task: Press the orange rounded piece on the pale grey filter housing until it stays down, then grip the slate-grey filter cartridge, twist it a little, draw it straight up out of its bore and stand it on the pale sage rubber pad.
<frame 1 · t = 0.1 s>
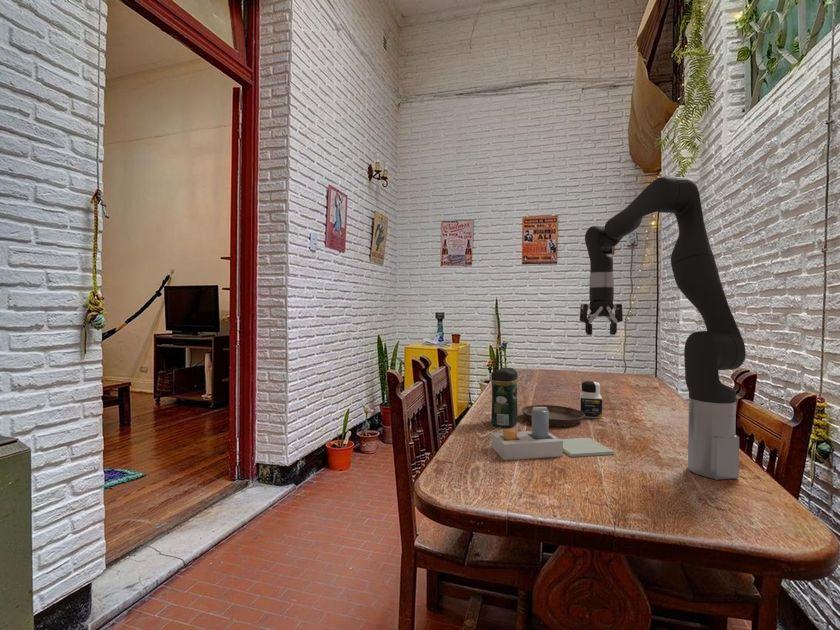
hand: (601, 334, 147), 29 cm above the table, tool pointing down, fingers open, 8 cm apart
filter housing: (525, 451, 118), on the table
cartridge: (539, 450, 118), resting in filter housing
orange rounded piece: (510, 435, 117), point 5 cm above the table, slide at 0.0 cm
medicine bottle: (590, 416, 155), on the table
coffee jar: (504, 424, 145), on the table
plant saucer: (552, 421, 150), on the table
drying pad: (581, 448, 120), on the table
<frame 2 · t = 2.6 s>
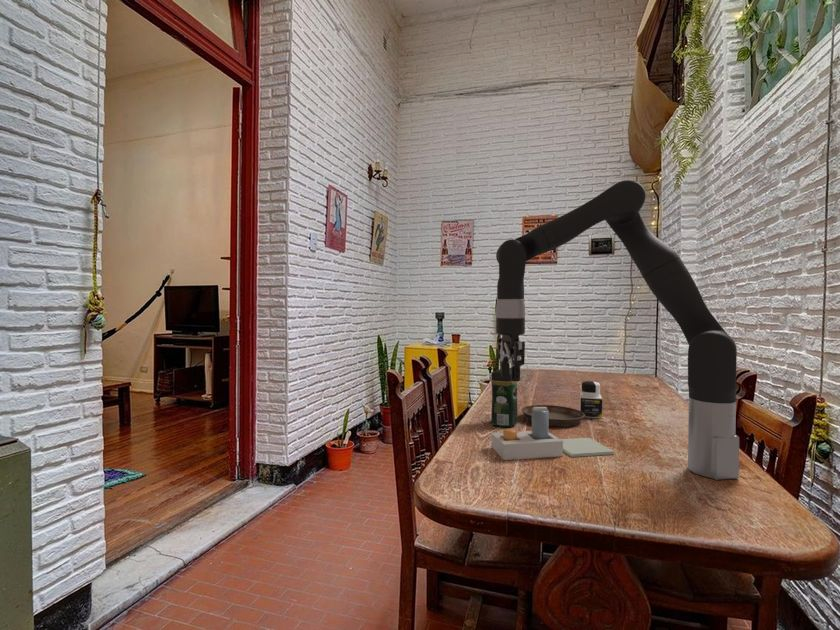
hand: (510, 378, 116), 20 cm above the table, tool pointing down, fingers open, 7 cm apart
nothing on the table moved.
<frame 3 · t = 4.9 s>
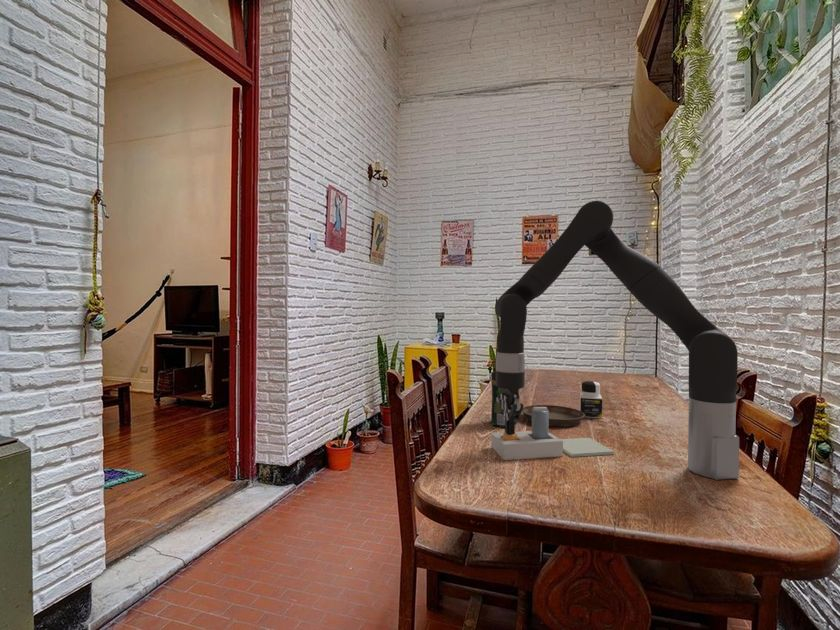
hand: (509, 433, 117), 5 cm above the table, tool pointing down, fingers closed
orange rounded piece: (510, 439, 117), point 4 cm above the table, slide at -1.0 cm, touching gripper
everything else where it was.
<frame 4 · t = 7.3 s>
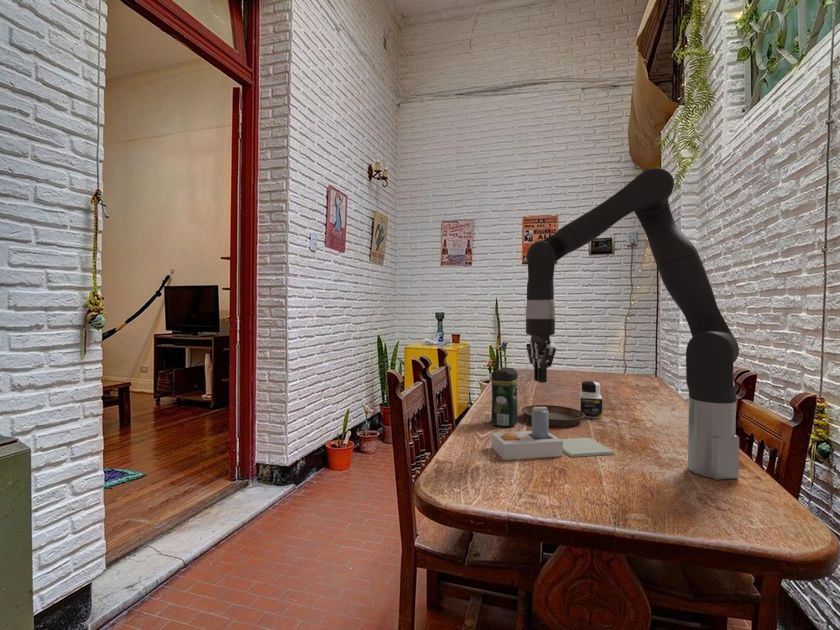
hand: (540, 381, 118), 19 cm above the table, tool pointing down, fingers closed
orange rounded piece: (510, 440, 117), point 3 cm above the table, slide at -1.1 cm
everything else where it was.
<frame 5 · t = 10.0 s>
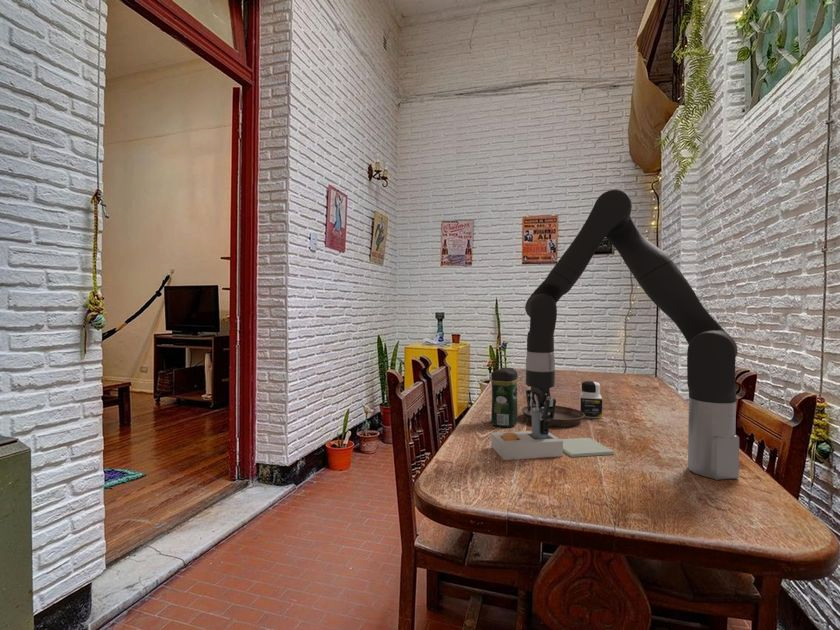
hand: (539, 431, 118), 5 cm above the table, tool pointing down, fingers closed on cartridge, 4 cm apart
cartridge: (539, 450, 118), resting in filter housing, touching gripper
everything else where it was.
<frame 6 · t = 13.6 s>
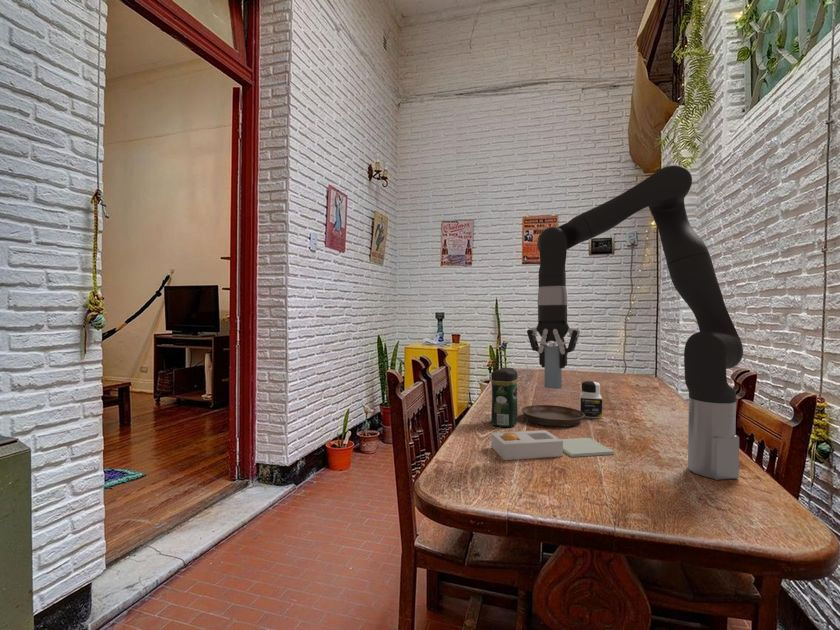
hand: (553, 367, 117), 23 cm above the table, tool pointing down, fingers closed on cartridge, 4 cm apart
cartridge: (553, 387, 117), point 17 cm above the table, touching gripper
everything else where it was.
when the fingers open (8 cm above the table, at t = 17.5 s): cartridge drops 1 cm, resting on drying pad.
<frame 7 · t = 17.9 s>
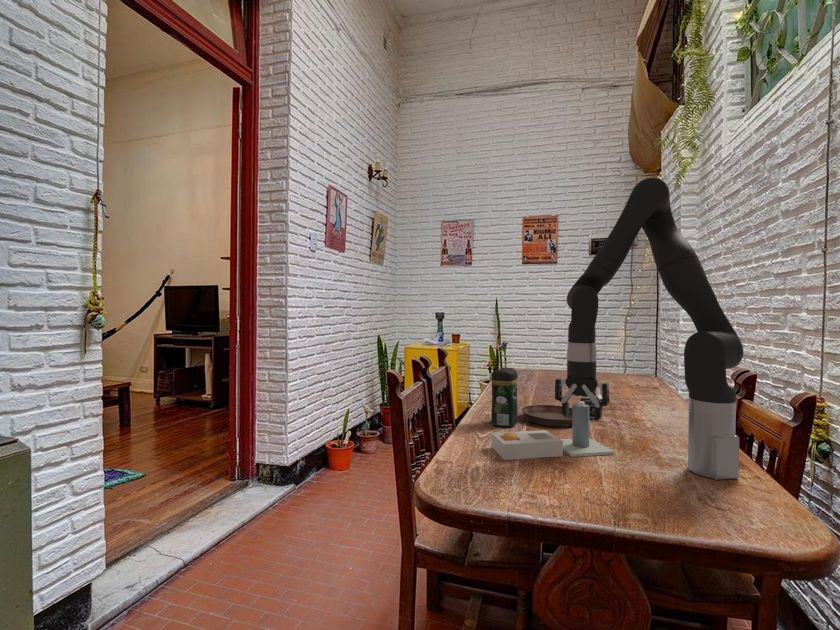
hand: (581, 418, 120), 8 cm above the table, tool pointing down, fingers open, 7 cm apart
cartridge: (580, 445, 120), point 1 cm above the table, touching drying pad
everything else where it was.
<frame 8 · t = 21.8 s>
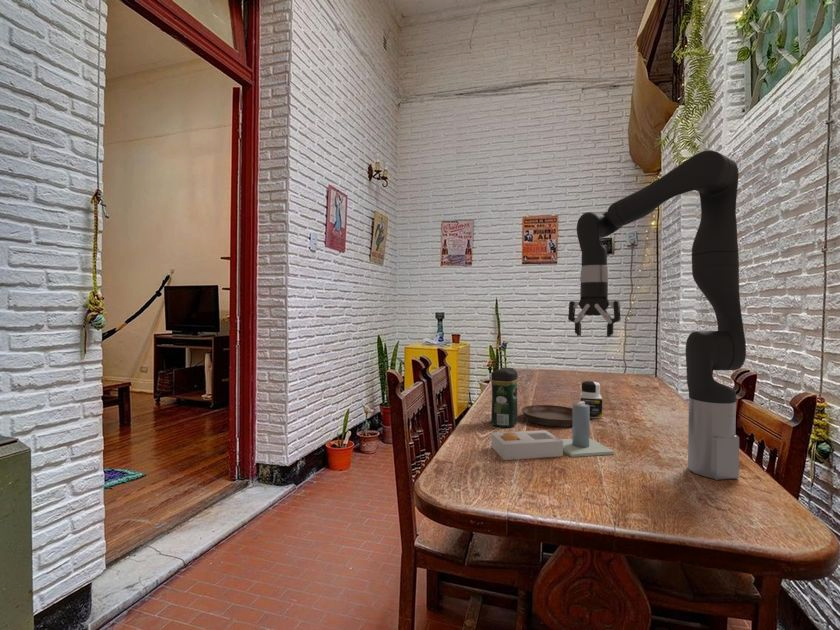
hand: (593, 336, 130), 30 cm above the table, tool pointing down, fingers open, 8 cm apart
nothing on the table moved.
at the end: orange rounded piece slide at -1.1 cm; cartridge inside the target area on the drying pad (0.1 cm from its centre), point 0.8 cm above the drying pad's base; cartridge tilted 1° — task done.
